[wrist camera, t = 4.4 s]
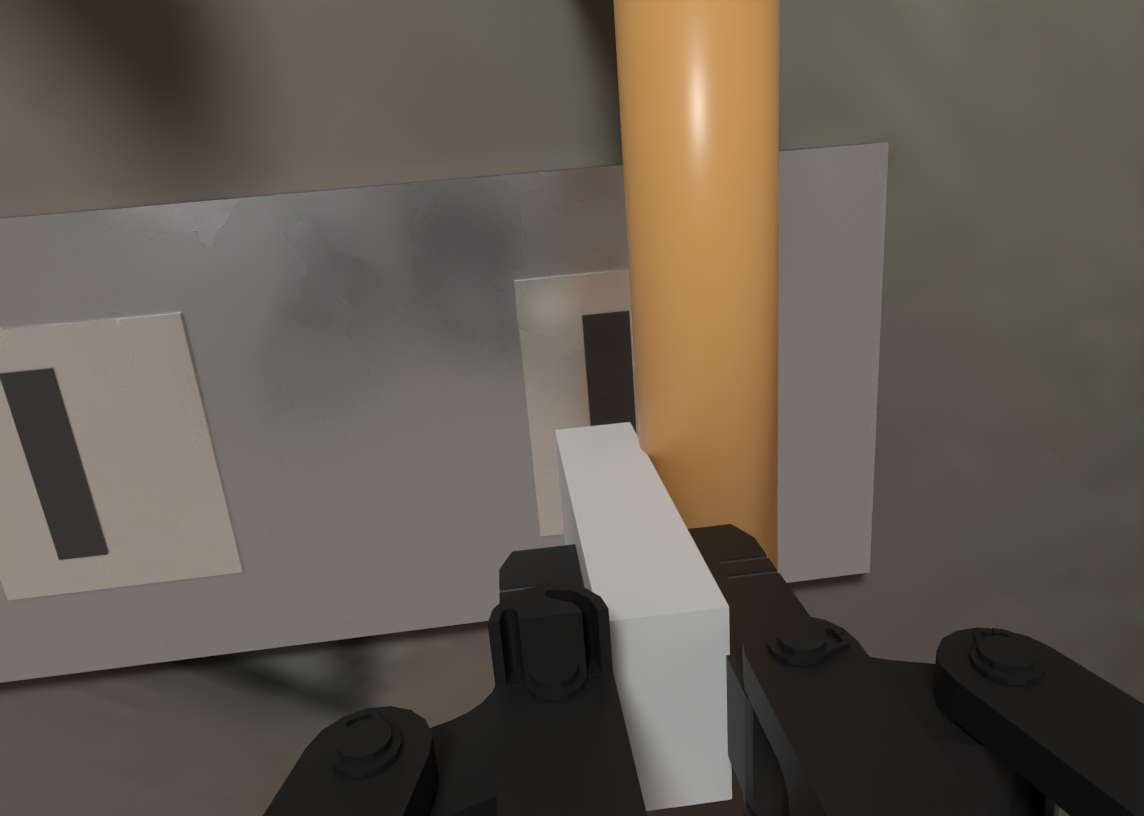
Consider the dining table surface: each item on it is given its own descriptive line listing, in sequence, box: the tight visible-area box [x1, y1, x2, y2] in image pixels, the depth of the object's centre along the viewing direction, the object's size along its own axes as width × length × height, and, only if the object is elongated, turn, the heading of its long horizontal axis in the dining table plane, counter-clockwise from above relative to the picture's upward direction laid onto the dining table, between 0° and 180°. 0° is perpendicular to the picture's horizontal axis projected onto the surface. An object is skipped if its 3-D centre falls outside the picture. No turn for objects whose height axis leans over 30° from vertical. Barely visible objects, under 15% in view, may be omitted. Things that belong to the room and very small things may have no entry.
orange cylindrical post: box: [614, 0, 779, 573], centre depth 12 cm, size 18×4×3 cm, turn 5°
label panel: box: [0, 142, 889, 683], centre depth 20 cm, size 12×27×1 cm, turn 95°
